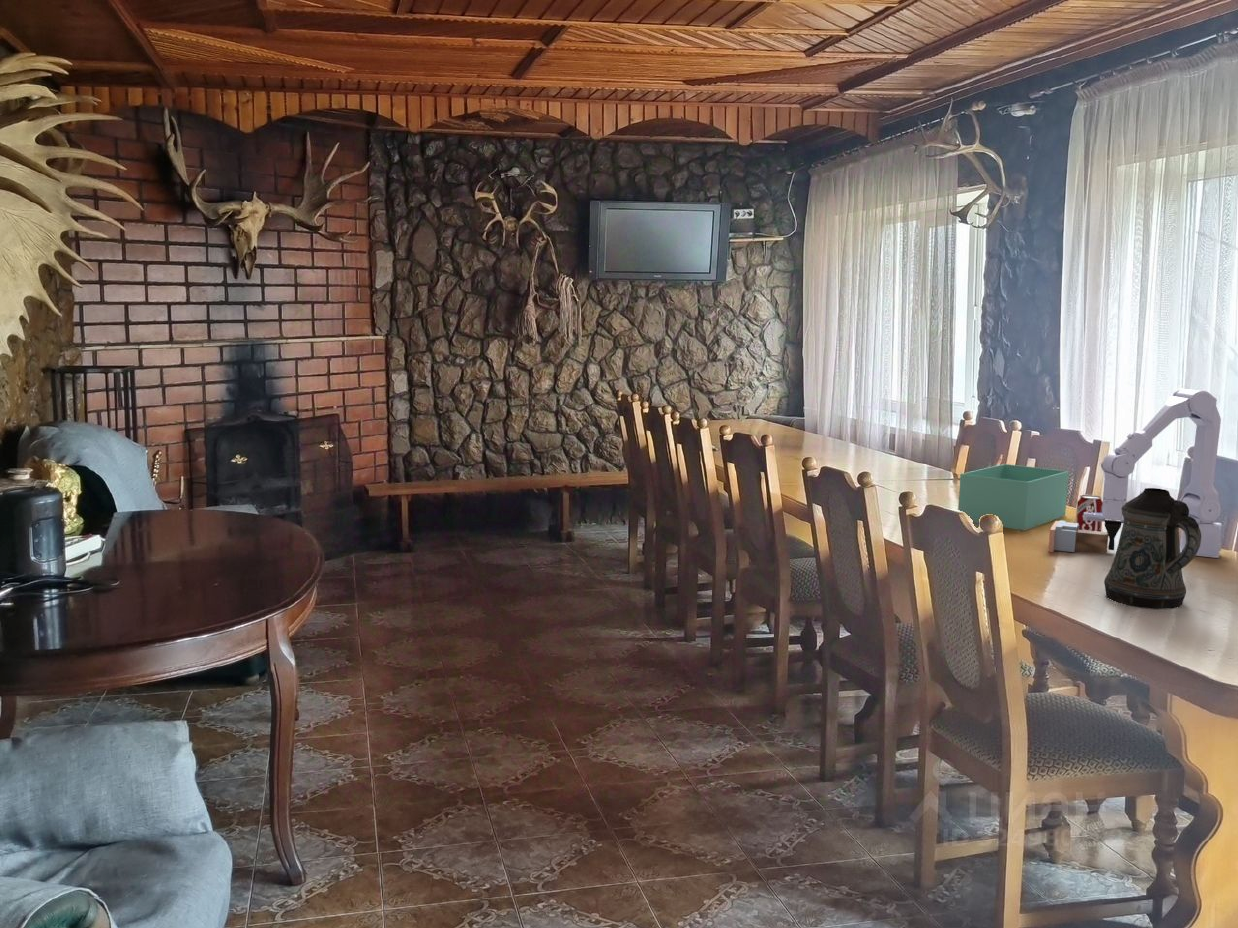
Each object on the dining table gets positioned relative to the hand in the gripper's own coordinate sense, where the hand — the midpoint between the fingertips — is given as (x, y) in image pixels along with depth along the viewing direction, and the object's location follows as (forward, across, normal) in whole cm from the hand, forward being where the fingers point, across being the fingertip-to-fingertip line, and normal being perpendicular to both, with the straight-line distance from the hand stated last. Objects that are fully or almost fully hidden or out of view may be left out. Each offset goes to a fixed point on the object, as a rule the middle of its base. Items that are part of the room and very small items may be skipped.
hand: (1110, 549), depth 288 cm
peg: (+1, +6, -1) cm, 7 cm away
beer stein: (+1, -10, +48) cm, 49 cm away
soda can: (+1, +7, -18) cm, 19 cm away
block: (+1, +11, 0) cm, 11 cm away
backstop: (+1, +14, 0) cm, 14 cm away
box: (+1, +30, -38) cm, 48 cm away
